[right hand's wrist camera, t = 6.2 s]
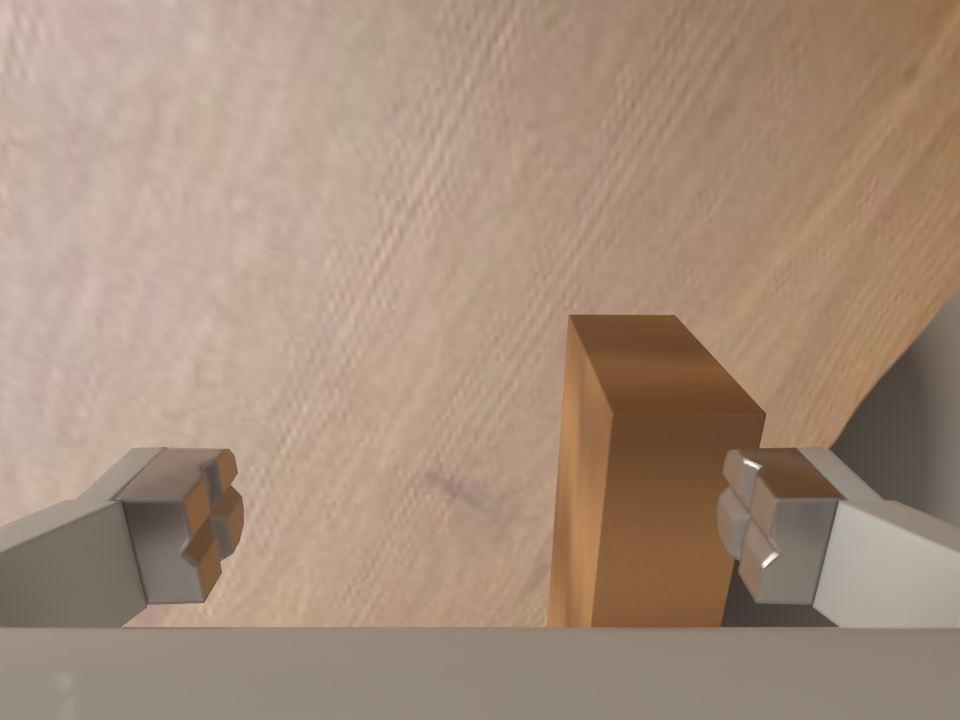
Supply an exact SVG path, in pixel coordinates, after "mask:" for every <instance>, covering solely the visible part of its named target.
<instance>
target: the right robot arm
mask: <svg viewBox="0 0 960 720" xmlns="http://www.w3.org/2000/svg"><path fill="white" fill-rule="evenodd" d="M237 474H238V471H237V466H236V461H235V456H234V454H233V453H232V452H231V451H230V450H229V449H210V448H166V447H150V448H134V449H131V450H130V451H129V452H128V453H127V454H126V455H125V456H123V457H122V458H121V459H120V460H119V461H118V462H117V463H116V464H115V465H114V466H113V467H111V468H110V469H109V470H108V471H107V472H106V473H105V474H104V475H103V476H102V477H101V478H100V479H98V480H97V481H96V482H95V483H94V484H93V485H92V486H91V487H90V488H89V489H88V490H86V491H85V492H84V493H83V494H82V495H81V496H80V497H79V498H78V499H77V500H75V501H63V502H61V503H58V504H56V505H53V506H51V507H48V508H46V509H43V510H41V511H38V512H36V513H33V514H31V515H29V516H26V517H24V518H21V519H19V520H16V521H14V522H11V523H9V524H6V525H4V526H2V527H0V720H960V527H958V526H956V525H953V524H951V523H949V522H946V521H944V520H941V519H939V518H936V517H934V516H931V515H929V514H926V513H924V512H922V511H919V510H917V509H914V508H912V507H909V506H907V505H904V504H902V503H899V502H897V501H885V500H883V499H882V498H881V497H880V496H879V495H878V494H877V493H876V492H875V491H874V490H873V489H871V488H870V487H869V486H868V485H867V484H866V483H865V482H864V481H863V480H862V479H861V478H859V477H858V476H857V475H856V474H855V473H854V472H853V471H852V470H851V469H850V468H849V467H848V466H847V465H845V464H844V463H843V462H842V461H841V460H840V459H839V458H838V457H837V456H836V455H835V454H834V453H832V452H831V451H830V450H829V449H826V448H823V447H808V448H760V449H734V450H729V451H728V453H727V455H726V457H725V459H724V465H723V470H722V474H723V475H724V477H725V478H726V480H727V481H728V483H729V486H728V487H727V488H726V489H725V490H724V491H723V492H722V493H721V494H720V495H719V496H718V502H717V510H716V520H717V530H718V534H719V537H720V540H721V543H722V545H723V547H724V549H725V550H726V552H727V554H729V555H731V556H732V557H734V558H735V559H737V560H739V561H740V565H739V571H738V573H739V575H740V577H741V578H742V580H743V582H744V583H745V585H746V587H747V588H748V590H749V592H750V593H751V595H752V597H753V599H754V600H755V602H756V603H775V604H811V605H813V607H814V608H815V609H816V610H818V611H819V612H820V613H822V614H823V615H824V616H826V617H827V618H828V619H830V620H831V621H832V622H834V623H835V624H836V625H838V626H839V627H121V626H123V625H124V624H125V623H127V622H128V621H129V620H131V619H132V618H133V617H135V616H136V615H137V614H139V613H140V612H141V611H143V610H144V609H145V608H147V605H149V604H185V603H204V602H205V601H206V599H207V597H208V595H209V594H210V592H211V590H212V589H213V587H214V585H215V583H216V582H217V580H218V578H219V577H220V575H221V573H222V571H221V565H220V561H221V560H223V559H225V558H226V557H228V556H229V555H231V554H233V552H234V550H235V548H236V547H237V545H238V543H239V541H240V537H241V533H242V529H243V524H244V508H243V501H242V496H241V495H240V494H239V493H238V492H237V491H236V490H235V489H234V488H233V487H232V486H231V483H232V481H233V480H234V478H235V477H236V475H237Z"/></svg>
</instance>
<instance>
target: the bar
mask: <svg viewBox="0 0 960 720" xmlns="http://www.w3.org/2000/svg"><path fill="white" fill-rule="evenodd" d="M765 418H766V413H765V412H764V411H763V410H762V409H761V408H760V407H759V406H758V404H757V403H756V402H755V401H754V400H753V399H752V398H751V397H750V396H749V395H748V394H747V393H746V392H745V390H744V389H743V388H742V387H741V386H740V385H739V384H738V383H737V382H736V381H735V380H734V379H733V378H732V376H731V375H730V374H729V373H728V372H727V371H726V370H725V369H724V368H723V367H722V366H721V365H720V364H719V362H718V361H717V360H716V359H715V358H714V357H713V356H712V355H711V354H710V353H709V352H708V351H707V350H706V348H705V347H704V346H703V345H702V344H701V343H700V342H699V341H698V340H697V339H696V338H695V337H694V335H693V334H692V333H691V332H690V331H689V330H688V329H687V328H686V327H685V326H684V325H683V324H682V323H681V321H680V320H679V319H678V318H677V317H676V316H675V315H569V316H568V331H567V345H566V360H565V375H564V389H563V404H562V418H561V433H560V447H559V462H558V476H557V491H556V505H555V520H554V534H553V549H552V563H551V578H550V592H549V607H548V622H547V627H720V626H721V622H722V617H723V612H724V607H725V603H726V598H727V594H728V589H729V584H730V580H731V575H732V571H733V566H734V561H735V558H734V557H732V556H731V555H729V554H727V552H726V550H725V549H724V547H723V545H722V543H721V540H720V537H719V534H718V530H717V520H716V510H717V502H718V496H719V495H720V494H721V493H722V492H723V491H724V490H725V489H726V488H727V487H728V486H729V483H728V481H727V480H726V478H725V477H724V475H723V474H722V470H723V465H724V459H725V457H726V455H727V453H728V451H729V450H734V449H759V446H760V441H761V436H762V432H763V427H764V422H765Z"/></svg>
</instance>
